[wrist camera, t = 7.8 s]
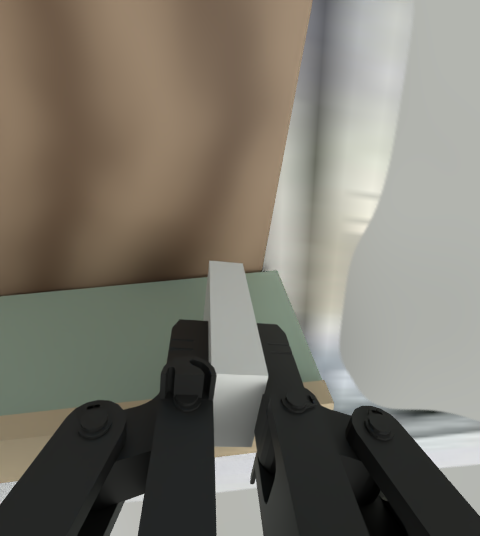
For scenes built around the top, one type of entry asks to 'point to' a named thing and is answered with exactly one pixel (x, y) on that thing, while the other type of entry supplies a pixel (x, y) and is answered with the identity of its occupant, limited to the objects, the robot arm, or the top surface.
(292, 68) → the gate frame
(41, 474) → the robot arm
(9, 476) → the bar
